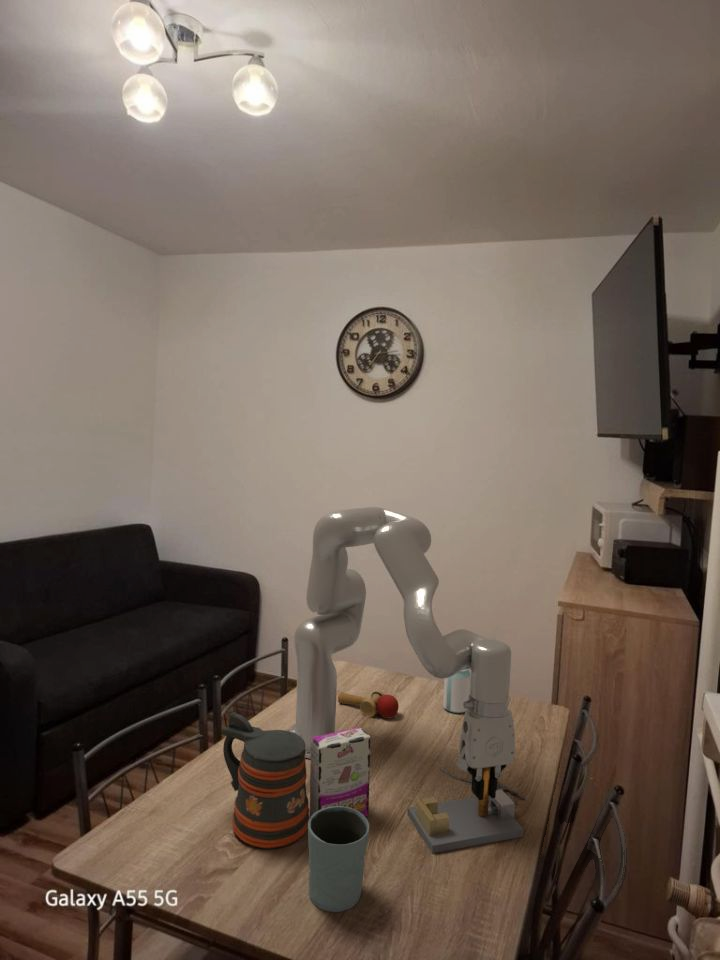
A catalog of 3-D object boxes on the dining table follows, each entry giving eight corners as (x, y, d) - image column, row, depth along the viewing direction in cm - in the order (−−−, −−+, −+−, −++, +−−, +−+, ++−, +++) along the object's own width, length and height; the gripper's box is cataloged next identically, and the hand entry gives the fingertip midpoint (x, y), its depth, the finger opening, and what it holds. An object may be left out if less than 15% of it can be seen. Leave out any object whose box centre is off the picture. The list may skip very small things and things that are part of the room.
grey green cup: (318, 866, 110) (320, 800, 109) (374, 880, 107) (376, 812, 106) (296, 907, 100) (298, 835, 99) (356, 924, 97) (359, 850, 97)
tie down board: (432, 853, 114) (432, 845, 114) (407, 814, 126) (407, 807, 126) (523, 836, 120) (523, 829, 120) (491, 800, 132) (492, 794, 132)
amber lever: (480, 817, 123) (483, 768, 122) (475, 811, 125) (478, 763, 124) (511, 812, 125) (514, 763, 124) (506, 806, 127) (508, 758, 126)
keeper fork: (429, 836, 117) (429, 820, 117) (415, 814, 123) (415, 800, 123) (448, 832, 118) (449, 817, 118) (433, 811, 125) (434, 797, 124)
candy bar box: (357, 802, 129) (360, 725, 128) (369, 816, 125) (372, 736, 124) (307, 816, 124) (309, 736, 123) (317, 830, 120) (320, 747, 118)
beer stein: (197, 830, 119) (199, 727, 117) (240, 790, 132) (242, 698, 131) (285, 859, 112) (288, 750, 110) (321, 814, 125) (325, 716, 124)
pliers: (459, 753, 150) (538, 785, 138) (459, 756, 150) (538, 788, 138) (437, 768, 143) (518, 803, 130) (436, 772, 143) (518, 807, 130)
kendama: (332, 713, 173) (390, 722, 164) (332, 689, 174) (390, 696, 164) (347, 708, 179) (403, 716, 170) (347, 685, 180) (403, 692, 171)
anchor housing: (500, 820, 123) (501, 805, 122) (487, 805, 127) (488, 791, 127) (513, 818, 123) (514, 803, 123) (500, 803, 128) (501, 789, 128)
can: (453, 701, 180) (455, 660, 179) (473, 709, 175) (475, 668, 174) (437, 707, 176) (439, 666, 175) (457, 716, 170) (459, 673, 169)
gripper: (460, 717, 116) (455, 812, 118) (535, 709, 121) (529, 800, 123) (443, 700, 124) (438, 790, 125) (514, 693, 128) (509, 779, 130)
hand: (483, 794), depth 124 cm, fingers closed on amber lever, 2 cm apart
